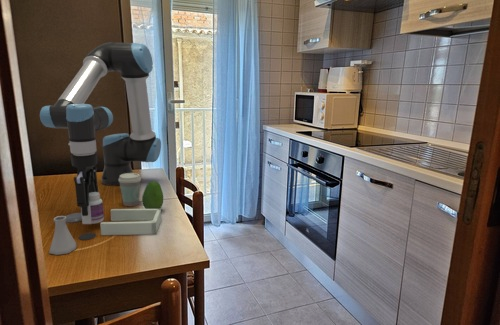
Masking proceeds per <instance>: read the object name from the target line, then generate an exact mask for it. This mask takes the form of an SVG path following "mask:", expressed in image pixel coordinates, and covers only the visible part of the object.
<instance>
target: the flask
mask: <svg viewBox="0 0 500 325" xmlns="http://www.w3.org/2000/svg"><path fill="white" fill-rule="evenodd" d="M66 216H67V215H58V216H56V217H55V216H54V217H53V222H54V225H55V227H54V233H53V237H52V242H51V244H50V248H49V251H48V254H50V255H56V256H58V255H65V254H70V253H72V252H73V251H75V250H76V249H77V244H78V243H77V242H76V240H75V239H74V238H73V235H72V234H71V232H70V230H69V228H68V226H67V222H66V221H65V220H66Z"/></svg>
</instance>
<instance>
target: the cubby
mask: <svg viewBox="0 0 500 325" xmlns="http://www.w3.org/2000/svg"><path fill="white" fill-rule="evenodd" d="M110 220H111V221H101V222H100V223H99V224H100V234H101V235H100V236H124V235H125V236H128V235H139V236H140V235H157V232H158V229H159V228H160V227H159V226H160V224H161V221H162V208H160V209H145V208H111V209H110Z"/></svg>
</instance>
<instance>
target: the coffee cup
mask: <svg viewBox="0 0 500 325" xmlns="http://www.w3.org/2000/svg"><path fill="white" fill-rule="evenodd" d="M140 175H141V174H139V173H137V172H133V173H125V174H121V175H120V177H119V180H118V181H119V182H120V185H119V188H120V191H121V192H120V194H121V198H122V202H123V203H122V204H123V206H125V207H133V206H134V207H135V206H137V205H139V202H140V192H141V191H140V188H141V180H142V177H141V176H140Z"/></svg>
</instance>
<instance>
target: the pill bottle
mask: <svg viewBox="0 0 500 325" xmlns="http://www.w3.org/2000/svg"><path fill="white" fill-rule="evenodd" d="M89 205H90V208H91V219H92V224H98V223H99V224H100V223H101V222H104V220H105V215H104V204H103V199H102V198H101V195H100V192H99V191H98V192H91V193H89Z"/></svg>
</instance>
